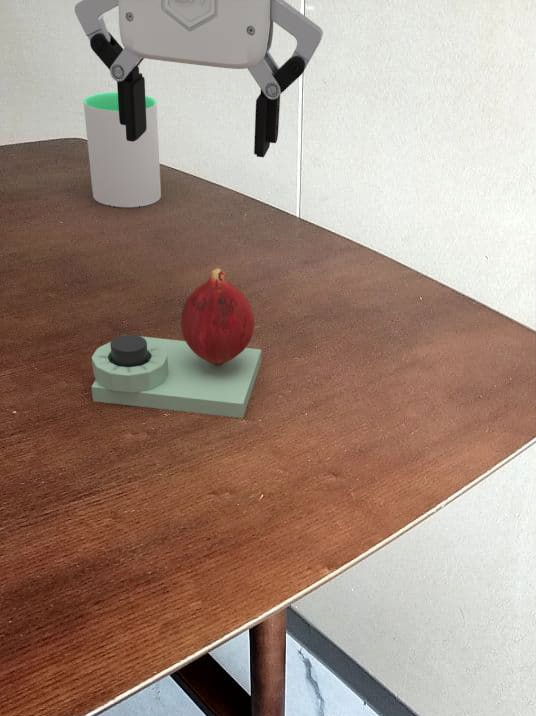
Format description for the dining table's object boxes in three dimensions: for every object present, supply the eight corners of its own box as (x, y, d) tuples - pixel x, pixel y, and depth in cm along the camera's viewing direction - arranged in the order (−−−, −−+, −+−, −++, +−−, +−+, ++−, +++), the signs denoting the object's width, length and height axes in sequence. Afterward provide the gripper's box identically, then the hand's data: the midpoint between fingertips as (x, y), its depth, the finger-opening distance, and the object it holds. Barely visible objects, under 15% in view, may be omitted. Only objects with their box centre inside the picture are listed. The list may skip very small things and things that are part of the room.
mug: (90, 174, 109) (81, 83, 102) (154, 173, 111) (149, 83, 104) (94, 208, 100) (84, 110, 93) (164, 206, 102) (159, 110, 95)
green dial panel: (87, 403, 68) (82, 369, 66) (120, 348, 75) (117, 316, 73) (242, 421, 67) (242, 387, 65) (261, 363, 74) (262, 331, 72)
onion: (257, 381, 69) (259, 286, 64) (184, 383, 68) (181, 287, 63) (248, 346, 74) (250, 255, 69) (180, 348, 73) (177, 256, 68)
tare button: (107, 367, 67) (105, 349, 66) (117, 350, 69) (116, 332, 68) (142, 371, 67) (141, 353, 66) (151, 354, 69) (150, 336, 68)
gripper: (42, -157, 52) (70, 145, 63) (328, -127, 51) (306, 173, 62) (83, -160, 57) (102, 117, 68) (341, -133, 56) (318, 143, 68)
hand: (199, 144), depth 65 cm, fingers open, 9 cm apart
